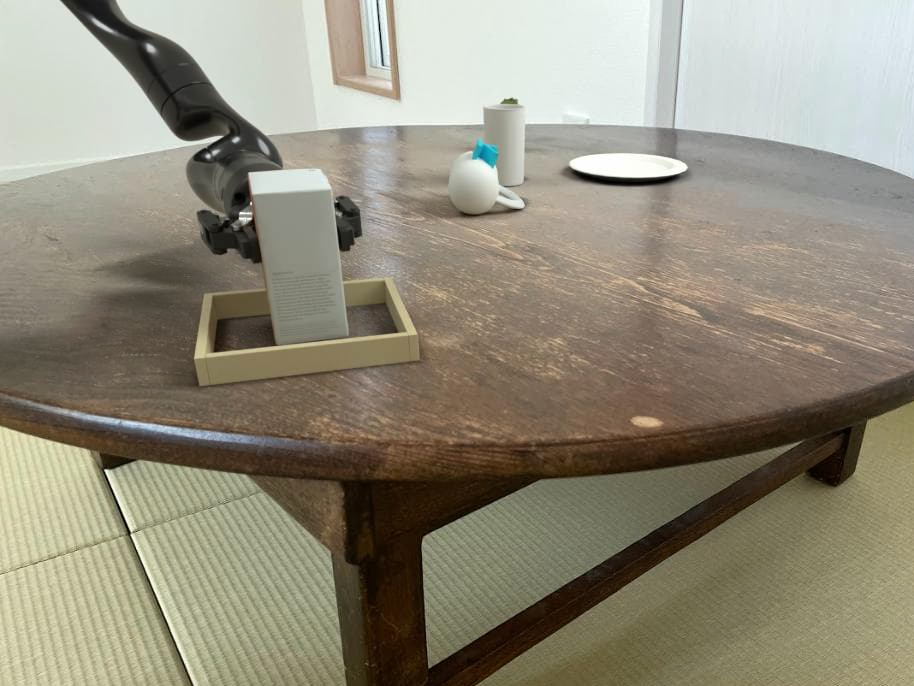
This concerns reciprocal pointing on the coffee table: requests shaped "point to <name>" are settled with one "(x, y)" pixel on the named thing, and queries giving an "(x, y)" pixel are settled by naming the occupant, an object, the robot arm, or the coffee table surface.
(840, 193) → the coffee table surface
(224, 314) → the rectangular frame
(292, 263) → the small box
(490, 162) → the mug
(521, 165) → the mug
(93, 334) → the coffee table surface
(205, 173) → the robot arm
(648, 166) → the plate
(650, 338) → the coffee table surface
